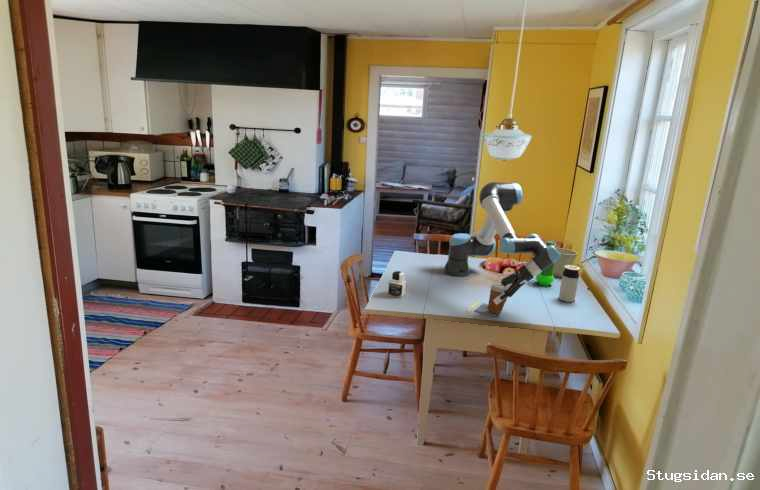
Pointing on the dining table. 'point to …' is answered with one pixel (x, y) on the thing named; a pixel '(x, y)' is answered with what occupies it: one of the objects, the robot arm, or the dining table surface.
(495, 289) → the disposable coffee cup
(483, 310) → the mat
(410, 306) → the dining table surface
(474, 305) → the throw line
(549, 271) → the plastic bottle
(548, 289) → the dining table surface
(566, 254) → the plant pot
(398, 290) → the medicine bottle
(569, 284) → the travel mug
